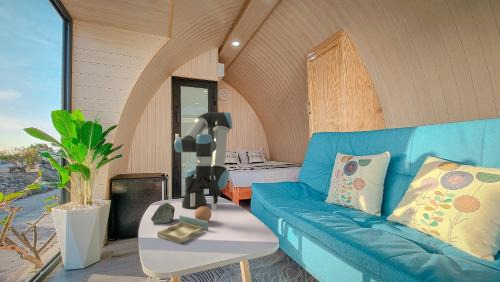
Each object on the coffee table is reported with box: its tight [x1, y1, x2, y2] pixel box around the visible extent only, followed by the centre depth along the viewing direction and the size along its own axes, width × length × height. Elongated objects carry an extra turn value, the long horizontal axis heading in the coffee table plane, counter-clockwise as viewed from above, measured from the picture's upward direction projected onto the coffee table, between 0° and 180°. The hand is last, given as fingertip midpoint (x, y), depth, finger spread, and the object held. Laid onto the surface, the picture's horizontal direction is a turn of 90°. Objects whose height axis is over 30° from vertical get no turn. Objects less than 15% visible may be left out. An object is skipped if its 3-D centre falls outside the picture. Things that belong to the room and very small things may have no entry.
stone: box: [150, 202, 176, 224], centre depth 110 cm, size 10×10×10 cm
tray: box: [157, 222, 204, 245], centre depth 94 cm, size 13×13×2 cm
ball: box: [194, 205, 212, 222], centre depth 109 cm, size 8×8×8 cm
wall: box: [178, 214, 209, 232], centre depth 102 cm, size 1×17×4 cm, turn 62°
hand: (203, 208), depth 108 cm, fingers open, 13 cm apart
